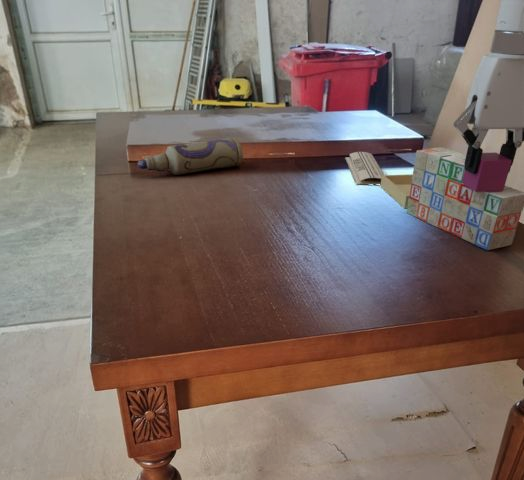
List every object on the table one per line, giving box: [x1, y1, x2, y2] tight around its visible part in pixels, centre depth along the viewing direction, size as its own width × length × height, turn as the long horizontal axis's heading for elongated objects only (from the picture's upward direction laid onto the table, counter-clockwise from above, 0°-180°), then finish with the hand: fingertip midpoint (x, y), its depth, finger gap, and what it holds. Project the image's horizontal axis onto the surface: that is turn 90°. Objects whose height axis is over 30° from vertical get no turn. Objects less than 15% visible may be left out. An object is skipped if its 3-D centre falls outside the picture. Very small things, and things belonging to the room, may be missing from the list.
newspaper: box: [344, 151, 385, 185], centre depth 130 cm, size 24×7×2 cm, turn 179°
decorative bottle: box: [136, 137, 244, 176], centre depth 125 cm, size 26×8×7 cm, turn 119°
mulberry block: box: [462, 152, 512, 192], centre depth 88 cm, size 5×5×5 cm
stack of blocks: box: [406, 146, 524, 251], centre depth 95 cm, size 21×6×12 cm, turn 27°
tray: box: [379, 173, 413, 209], centre depth 114 cm, size 11×15×3 cm
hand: (486, 170), depth 87 cm, fingers closed on mulberry block, 5 cm apart
